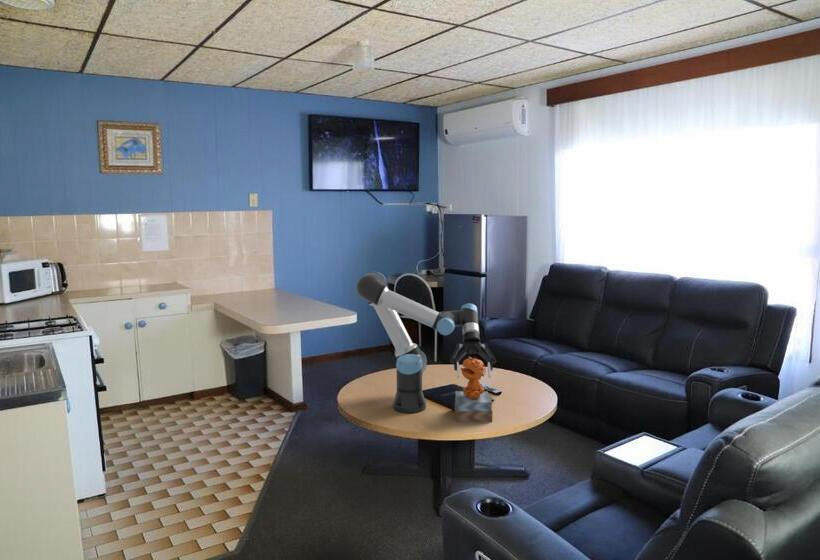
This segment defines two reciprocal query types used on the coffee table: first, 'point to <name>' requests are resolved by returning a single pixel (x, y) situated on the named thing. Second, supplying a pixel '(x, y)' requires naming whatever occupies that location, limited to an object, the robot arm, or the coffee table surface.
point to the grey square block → (473, 408)
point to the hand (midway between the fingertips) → (474, 376)
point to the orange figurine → (473, 377)
